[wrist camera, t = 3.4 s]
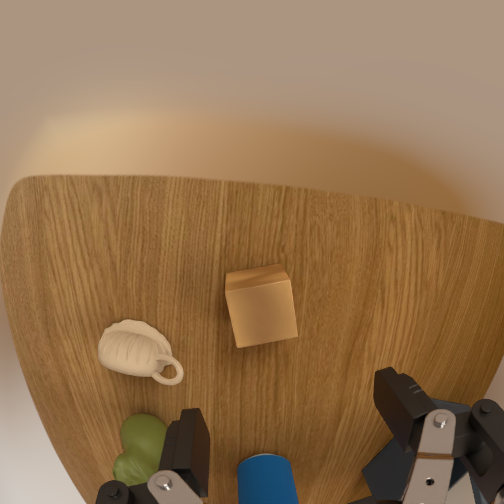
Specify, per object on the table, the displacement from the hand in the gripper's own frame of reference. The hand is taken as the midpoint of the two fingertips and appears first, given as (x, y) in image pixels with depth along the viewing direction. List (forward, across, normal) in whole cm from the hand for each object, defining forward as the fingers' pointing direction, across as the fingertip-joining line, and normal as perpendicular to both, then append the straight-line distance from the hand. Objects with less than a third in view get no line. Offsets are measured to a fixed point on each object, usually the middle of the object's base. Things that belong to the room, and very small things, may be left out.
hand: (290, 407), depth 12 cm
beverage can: (+14, +3, +22) cm, 27 cm away
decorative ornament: (+14, +11, +2) cm, 18 cm away
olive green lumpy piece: (+14, +14, +12) cm, 23 cm away
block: (+14, 0, 0) cm, 14 cm away
